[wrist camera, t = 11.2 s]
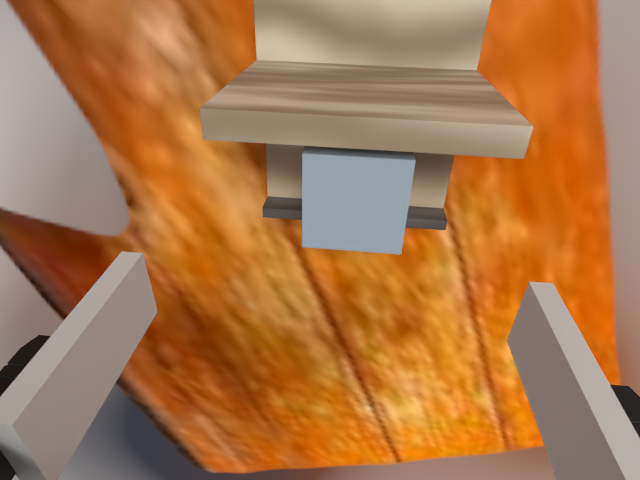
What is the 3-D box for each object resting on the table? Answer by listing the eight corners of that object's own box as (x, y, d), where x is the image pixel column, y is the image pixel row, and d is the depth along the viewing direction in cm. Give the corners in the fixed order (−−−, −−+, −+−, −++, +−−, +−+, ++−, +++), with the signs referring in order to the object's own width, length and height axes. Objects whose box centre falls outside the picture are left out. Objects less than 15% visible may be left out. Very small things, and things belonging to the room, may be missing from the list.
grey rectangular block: (319, 106, 31) (302, 153, 23) (404, 111, 30) (415, 160, 23) (317, 183, 34) (302, 246, 26) (394, 188, 33) (401, 254, 26)
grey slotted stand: (256, -20, 30) (184, -9, 18) (489, -12, 29) (570, 5, 17) (265, 183, 39) (220, 278, 27) (446, 195, 38) (481, 300, 26)
